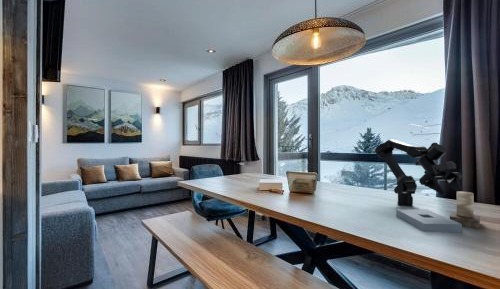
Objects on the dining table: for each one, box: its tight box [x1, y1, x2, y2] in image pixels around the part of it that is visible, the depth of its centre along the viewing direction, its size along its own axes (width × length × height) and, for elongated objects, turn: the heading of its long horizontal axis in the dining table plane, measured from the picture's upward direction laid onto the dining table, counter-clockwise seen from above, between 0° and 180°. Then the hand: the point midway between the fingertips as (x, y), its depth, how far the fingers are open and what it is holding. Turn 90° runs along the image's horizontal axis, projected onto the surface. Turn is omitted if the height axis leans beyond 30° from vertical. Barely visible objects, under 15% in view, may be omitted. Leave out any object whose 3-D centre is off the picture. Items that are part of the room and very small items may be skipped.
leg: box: [455, 190, 475, 218], centre depth 103 cm, size 6×6×13 cm
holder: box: [449, 211, 481, 230], centre depth 104 cm, size 9×9×3 cm
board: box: [395, 208, 463, 233], centre depth 104 cm, size 20×14×3 cm
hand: (453, 194), depth 108 cm, fingers open, 9 cm apart
